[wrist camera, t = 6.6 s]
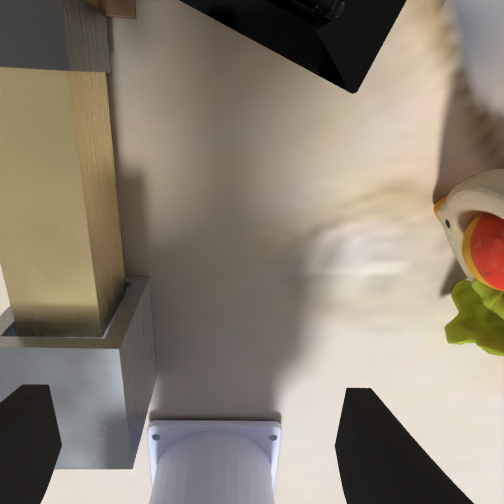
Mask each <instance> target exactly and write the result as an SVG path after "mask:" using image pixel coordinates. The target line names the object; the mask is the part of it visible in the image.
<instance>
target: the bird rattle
mask: <svg viewBox="0 0 504 504" xmlns="http://www.w3.org/2000/svg"><path fill="white" fill-rule="evenodd" d="M434 212H435V215H436V216H437V218H438V220H439V221H440V222H441V224H442V226H443V228H444V230H445V233H446V236H447V239H448V241H449V244H450V247H451V249H452V251H453V253H454V255H455V257H456V259H457V261H458V262H459V264H460V266H461V268H462V269H463V271H464V273H465V274H466V276H467V277H468V279H469V280H470V281H468V280H461V281H458V282H457V283H456V284H455V286H454V287H453V289H452V292H451V295H452V299H453V301H454V303H455V305H456V307H457V309H458V311H459V313H458V315H457V316H456V317H455V318H454V319H453V320H452V321H451V322H450V323H448V324H447V325H446V326H445V332H446V337H447V342H448V343H451V344H459V345H460V344H464V343H476V344H477V345H478V346H479V347H481V348H482V349H483V350H485V351H486V352H488V353H490V354H492V355H496V356H504V169H492V170H486V171H483V172H481V173H479V174H476V175H474V176H471V177H469V178H468V179H466V180H464V181H462V182H461V183H459V184H458V185H457V186H455V187H454V188H453V189H452V190H451V192H450V193H449V195H447V196H445V197H444V198H442V199H440V200H439V201H438V202H437V203H436V204H435V206H434Z"/></svg>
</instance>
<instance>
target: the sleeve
mask: <svg viewBox="0 0 504 504" xmlns="http://www.w3.org/2000/svg"><path fill="white" fill-rule="evenodd" d="M125 284H126V292H125V294H124V296H123V298H122V300H121V302H120V304H119V306H118V308H117V310H116V312H115V314H114V316H113V318H112V320H111V322H110V323H109V325H108V327H107V329H106V331H105V333H104V335H103V337H102V338H95V337H46V336H18V333H17V329H16V325H15V321H14V317H13V313H12V308H11V306H10V307H9V308H8V309H7V310H6V311H5V312H4V313H3V314H2V315H1V316H0V402H1V401H3V400H4V399H5V398H6V397H7V396H9V395H10V394H11V393H12V392H14V391H15V390H16V389H17V388H19V387H20V386H21V385H22V384H42V385H49V387H50V392H51V396H52V401H53V405H54V410H55V414H56V419H57V424H58V428H59V433H60V437H61V442H62V447H61V450H60V453H59V456H58V459H57V462H56V465H55V468H54V469H133V465H134V461H135V457H136V454H137V450H138V446H139V442H140V439H141V435H142V431H143V427H144V423H145V420H146V416H147V412H148V408H149V404H150V401H151V397H152V393H153V389H154V386H155V382H156V364H155V348H154V332H153V316H152V300H151V284H150V277H131V276H125Z"/></svg>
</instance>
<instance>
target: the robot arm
mask: <svg viewBox="0 0 504 504" xmlns="http://www.w3.org/2000/svg"><path fill="white" fill-rule="evenodd" d="M147 433H148V446H149V458H150V470H151V482H152V493H151V497H150V502H149V504H274V491H275V483H276V475H277V466H278V458H279V450H280V442H281V434H282V429H281V424H280V423H278V422H276V421H198V420H154V421H151V422H150V423H149V425H148V429H147ZM156 434H158V435H156ZM61 447H62V442H61V437H60V433H59V428H58V424H57V419H56V414H55V410H54V405H53V401H52V396H51V392H50V387H49V385H42V384H22V385H21V386H20V387H19V388H17V389H16V390H15V391H14V392H12V393H11V394H10V395H9V396H7V397H6V398H5V399H4V400H3V401H1V402H0V504H40V503H41V501H42V499H43V497H44V495H45V492H46V490H47V487H48V485H49V482H50V479H51V476H52V474H53V471H54V468H55V465H56V462H57V459H58V456H59V453H60V450H61ZM335 449H336V455H337V461H338V466H339V472H340V477H341V482H342V487H343V491H344V495H345V498H346V502H347V504H474V503H473V502H472V501H471V500H470V499H469V498H468V497H467V496H466V495H465V494H464V493H463V492H462V491H461V490H460V489H459V488H458V487H457V486H456V485H455V484H454V483H453V481H452V480H451V479H450V478H449V477H448V476H447V475H446V474H445V473H444V472H443V471H442V470H441V468H440V467H439V466H438V465H437V464H436V463H435V462H434V461H433V460H432V459H431V457H430V456H429V455H428V454H427V453H426V452H425V451H424V450H423V449H422V447H421V446H420V445H419V444H418V443H417V442H416V441H415V439H414V438H413V437H412V436H411V435H410V434H409V433H408V431H407V430H406V429H405V428H404V427H403V426H402V424H401V423H400V422H399V421H398V420H397V418H396V417H395V416H394V415H393V414H392V413H391V411H390V410H389V409H388V408H387V407H386V405H385V404H384V403H383V402H382V401H381V399H380V398H379V397H378V396H377V395H376V394H375V392H374V391H373V390H372V389H371V388H346V393H345V398H344V403H343V408H342V413H341V418H340V423H339V428H338V433H337V438H336V443H335Z"/></svg>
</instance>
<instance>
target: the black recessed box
mask: <svg viewBox="0 0 504 504" xmlns="http://www.w3.org/2000/svg"><path fill="white" fill-rule="evenodd" d="M180 1H182V2H183V3H185V4H187V5H189V6H191V7H193V8H195V9H196V10H198V11H200V12H202V13H204V14H206V15H207V16H209V17H211V18H213V19H215V20H217V21H219V22H220V23H222V24H224V25H226V26H228V27H230V28H232V29H233V30H235V31H237V32H239V33H241V34H243V35H244V36H246V37H248V38H250V39H252V40H254V41H256V42H257V43H259V44H261V45H263V46H265V47H267V48H269V49H270V50H272V51H274V52H276V53H278V54H280V55H281V56H283V57H285V58H287V59H289V60H291V61H293V62H294V63H296V64H298V65H300V66H302V67H304V68H306V69H307V70H309V71H311V72H313V73H315V74H317V75H318V76H320V77H322V78H324V79H326V80H328V81H330V82H331V83H333V84H335V85H337V86H339V87H341V88H343V89H344V90H346V91H348V92H350V93H356V92H357V91H358V89H359V87H360V85H361V84H362V82H363V80H364V78H365V76H366V74H367V72H368V71H369V69H370V67H371V65H372V63H373V61H374V59H375V58H376V56H377V54H378V52H379V50H380V48H381V47H382V45H383V43H384V41H385V39H386V37H387V35H388V34H389V32H390V30H391V28H392V26H393V24H394V23H395V21H396V19H397V17H398V15H399V13H400V11H401V10H402V8H403V6H404V4H405V2H406V0H180ZM439 1H440V2H441V4H442V6H443V5H444V3H445V1H446V0H439Z"/></svg>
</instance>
